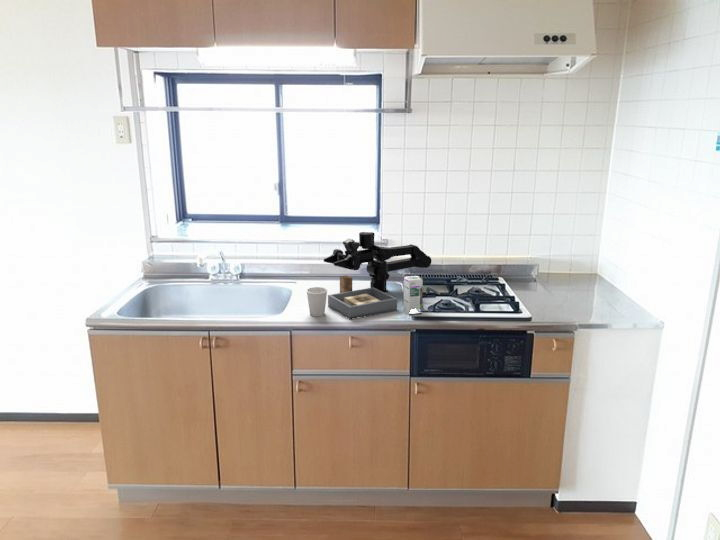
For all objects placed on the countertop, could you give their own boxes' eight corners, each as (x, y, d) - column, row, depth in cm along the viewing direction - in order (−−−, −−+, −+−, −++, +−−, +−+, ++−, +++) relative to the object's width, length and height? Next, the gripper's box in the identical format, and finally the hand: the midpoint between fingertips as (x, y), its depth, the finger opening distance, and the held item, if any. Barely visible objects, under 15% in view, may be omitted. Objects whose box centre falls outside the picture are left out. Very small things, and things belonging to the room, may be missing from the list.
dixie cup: (309, 310, 217) (309, 286, 214) (329, 311, 215) (329, 287, 213) (304, 317, 209) (303, 292, 206) (325, 318, 207) (325, 293, 205)
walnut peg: (347, 294, 237) (347, 275, 234) (352, 297, 233) (352, 277, 231) (339, 296, 235) (339, 276, 232) (344, 298, 231) (344, 278, 229)
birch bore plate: (366, 300, 226) (366, 293, 225) (380, 307, 217) (381, 300, 216) (343, 304, 221) (343, 297, 220) (357, 312, 211) (357, 305, 211)
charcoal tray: (373, 298, 232) (373, 287, 231) (396, 310, 217) (397, 298, 216) (328, 306, 221) (328, 295, 220) (349, 319, 206) (349, 307, 205)
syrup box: (408, 315, 211) (409, 279, 208) (403, 310, 217) (404, 276, 213) (421, 314, 213) (423, 278, 209) (416, 309, 218) (417, 275, 215)
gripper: (348, 235, 239) (317, 240, 232) (371, 241, 224) (338, 246, 216) (350, 260, 242) (319, 265, 234) (372, 267, 226) (339, 273, 219)
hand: (328, 262), depth 226 cm, fingers open, 9 cm apart
